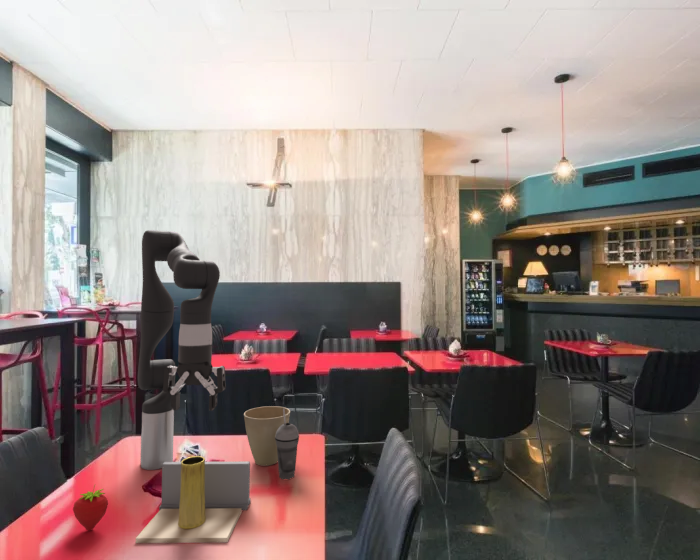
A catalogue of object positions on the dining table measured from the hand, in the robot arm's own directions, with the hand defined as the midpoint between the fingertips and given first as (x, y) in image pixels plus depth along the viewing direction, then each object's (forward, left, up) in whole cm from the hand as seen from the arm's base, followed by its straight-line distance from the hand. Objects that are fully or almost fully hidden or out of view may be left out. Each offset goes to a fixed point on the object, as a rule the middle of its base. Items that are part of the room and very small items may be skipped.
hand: (194, 409), depth 95 cm
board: (+1, -1, -27) cm, 27 cm away
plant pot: (-12, +35, -27) cm, 45 cm away
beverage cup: (+1, +31, -27) cm, 41 cm away
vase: (+1, -1, -26) cm, 26 cm away
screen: (-4, +6, -27) cm, 28 cm away
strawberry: (-17, -15, -27) cm, 35 cm away
